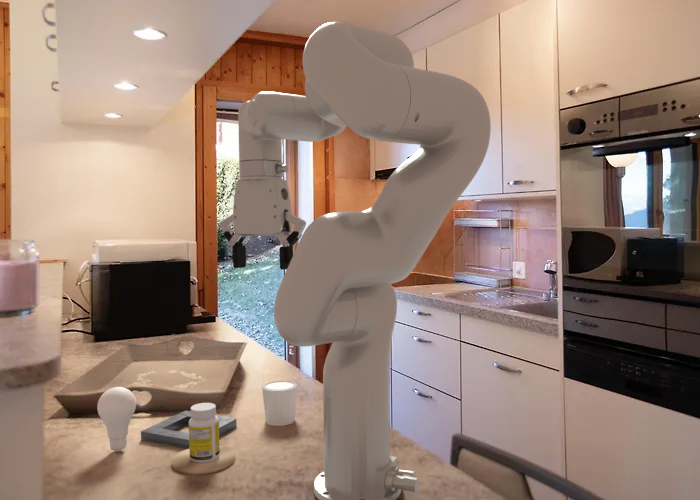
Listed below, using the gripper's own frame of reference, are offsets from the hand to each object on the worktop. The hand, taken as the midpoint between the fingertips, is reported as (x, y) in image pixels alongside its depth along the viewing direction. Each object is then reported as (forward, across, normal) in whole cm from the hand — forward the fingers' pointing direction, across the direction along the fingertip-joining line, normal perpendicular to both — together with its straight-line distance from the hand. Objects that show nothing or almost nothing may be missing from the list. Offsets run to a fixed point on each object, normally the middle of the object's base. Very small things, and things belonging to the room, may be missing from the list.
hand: (262, 268), depth 103 cm
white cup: (+31, +1, -7) cm, 31 cm away
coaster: (+30, +3, +14) cm, 34 cm away
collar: (+30, +13, +5) cm, 33 cm away
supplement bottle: (+30, +3, +14) cm, 33 cm away
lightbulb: (+31, +19, +16) cm, 39 cm away
